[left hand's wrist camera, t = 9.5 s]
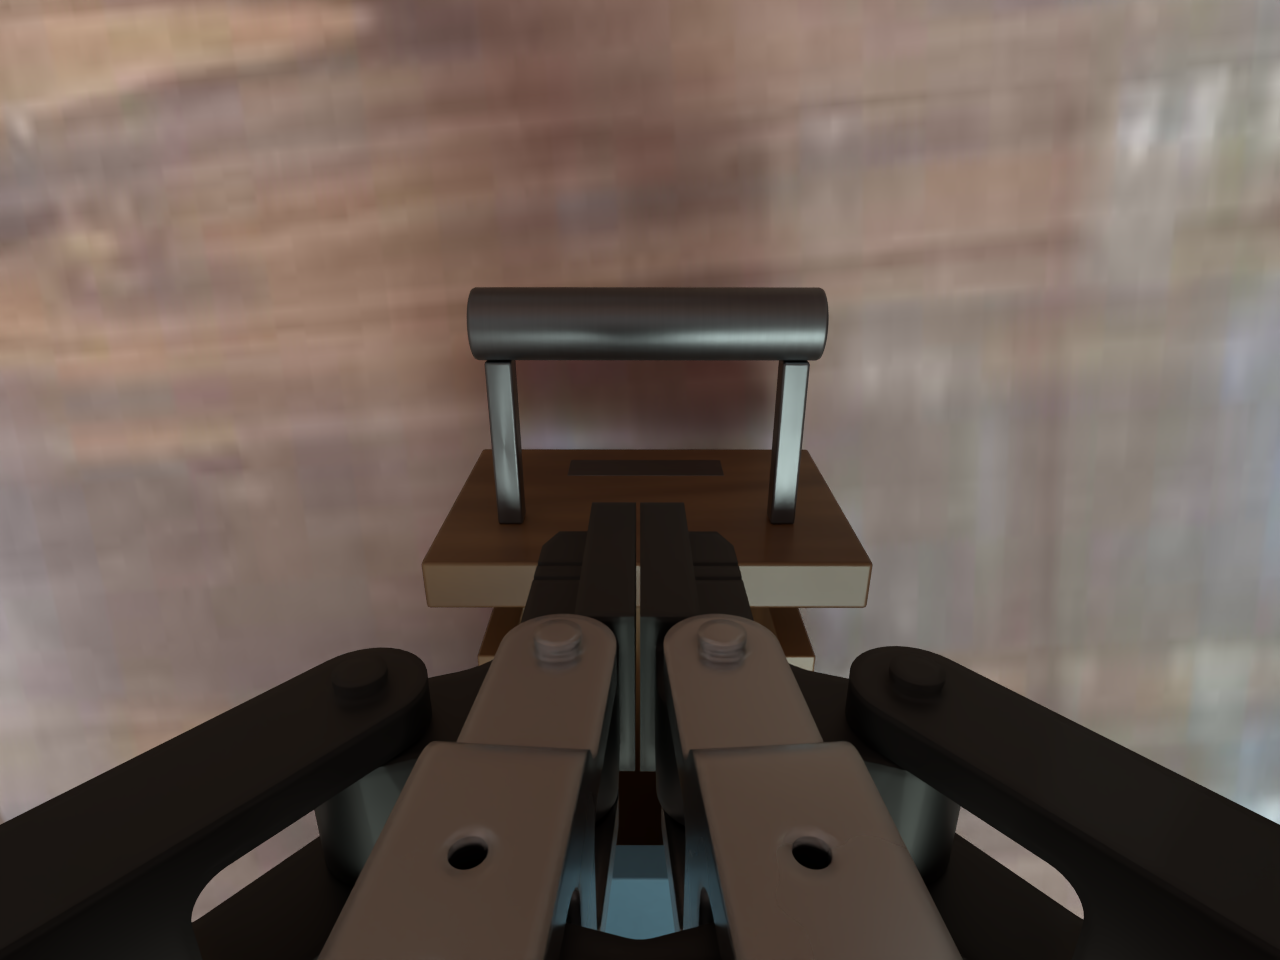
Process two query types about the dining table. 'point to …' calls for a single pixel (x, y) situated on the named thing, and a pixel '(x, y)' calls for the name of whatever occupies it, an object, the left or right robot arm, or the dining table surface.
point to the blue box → (639, 893)
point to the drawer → (649, 469)
